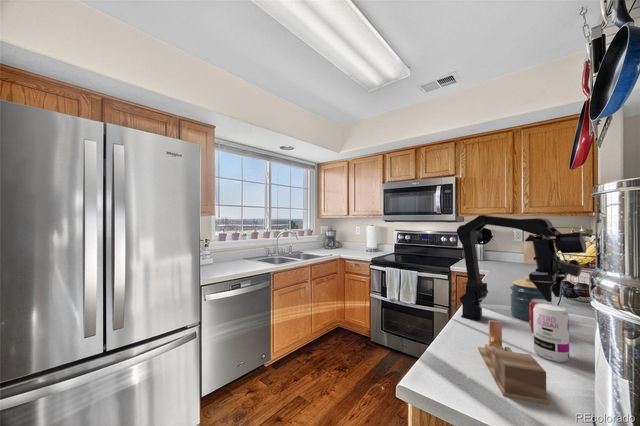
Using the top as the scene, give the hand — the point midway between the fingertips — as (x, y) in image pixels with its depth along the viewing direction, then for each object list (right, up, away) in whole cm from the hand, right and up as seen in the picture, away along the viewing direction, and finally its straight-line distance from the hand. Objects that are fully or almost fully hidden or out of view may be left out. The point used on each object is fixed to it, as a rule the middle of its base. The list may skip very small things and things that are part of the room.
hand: (553, 299), depth 89 cm
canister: (+9, -15, +22) cm, 28 cm away
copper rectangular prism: (-27, -13, -13) cm, 33 cm away
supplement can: (-9, -15, -9) cm, 19 cm away
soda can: (+1, -15, +6) cm, 16 cm away
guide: (-29, -14, -17) cm, 36 cm away
